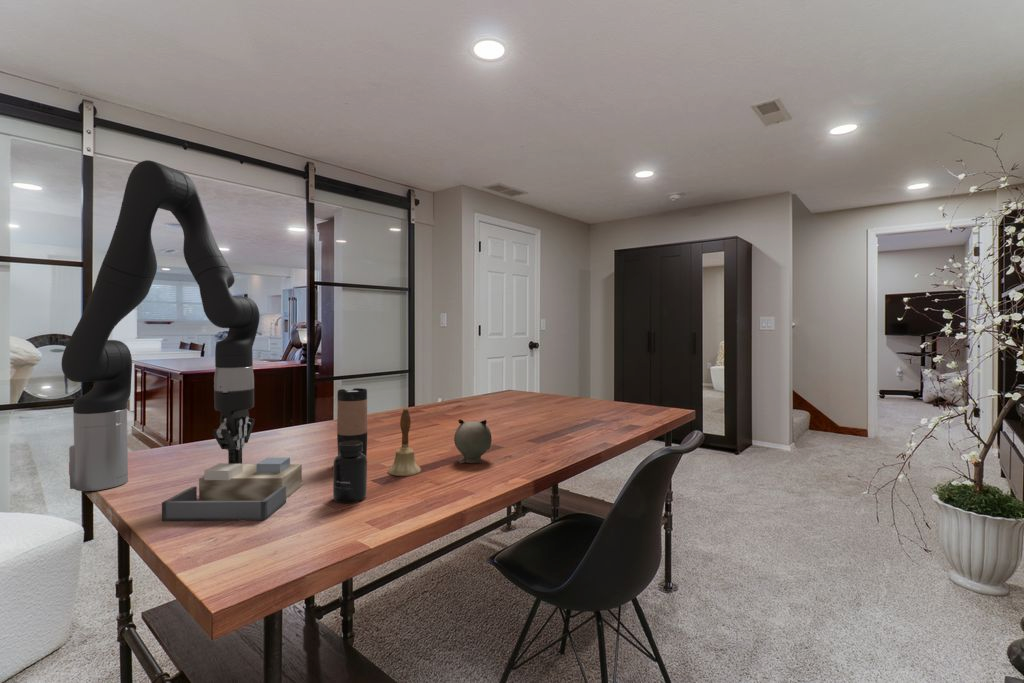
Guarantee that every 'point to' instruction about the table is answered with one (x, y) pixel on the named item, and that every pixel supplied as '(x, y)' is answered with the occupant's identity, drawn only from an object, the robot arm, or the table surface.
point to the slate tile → (273, 465)
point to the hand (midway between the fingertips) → (235, 466)
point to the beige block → (223, 471)
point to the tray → (220, 507)
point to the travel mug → (352, 417)
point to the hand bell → (404, 452)
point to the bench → (251, 484)
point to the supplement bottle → (350, 473)
